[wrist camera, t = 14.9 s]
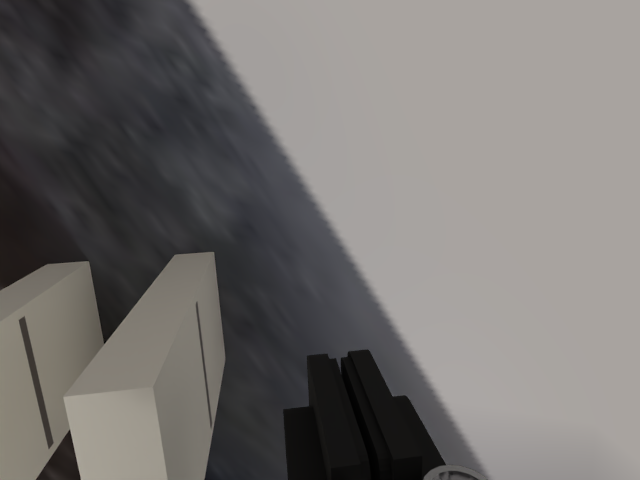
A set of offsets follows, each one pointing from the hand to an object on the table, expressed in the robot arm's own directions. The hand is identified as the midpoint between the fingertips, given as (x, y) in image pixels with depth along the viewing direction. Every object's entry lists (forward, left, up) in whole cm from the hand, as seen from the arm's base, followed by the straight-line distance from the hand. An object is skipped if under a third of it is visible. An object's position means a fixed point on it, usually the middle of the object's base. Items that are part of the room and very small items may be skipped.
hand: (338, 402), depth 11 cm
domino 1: (+5, 0, -8) cm, 9 cm away
